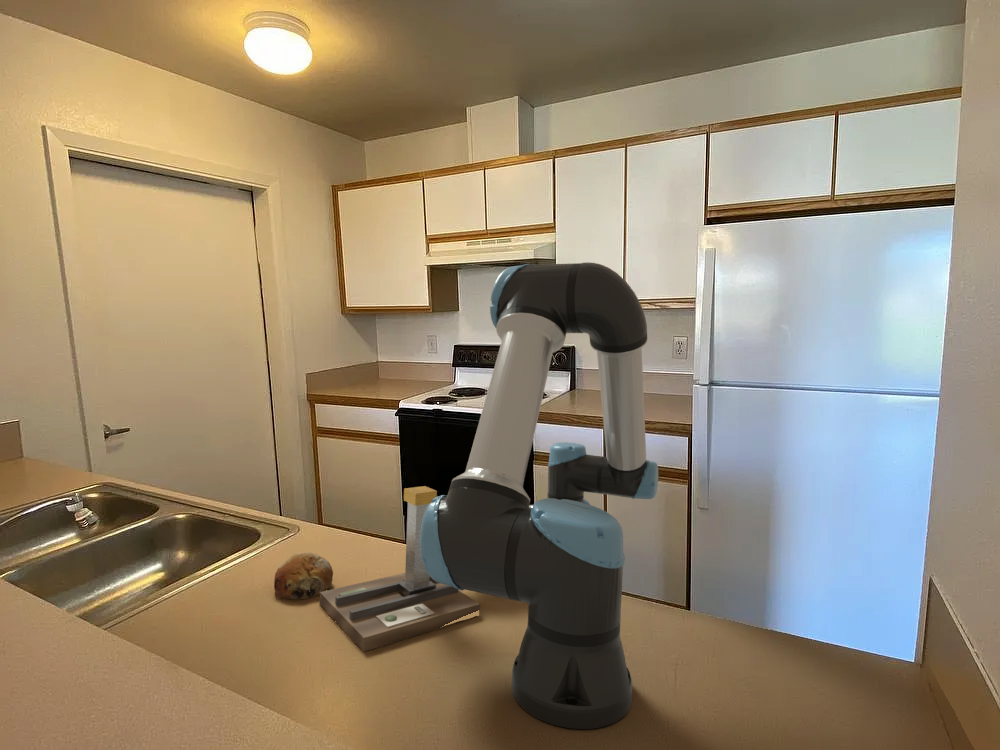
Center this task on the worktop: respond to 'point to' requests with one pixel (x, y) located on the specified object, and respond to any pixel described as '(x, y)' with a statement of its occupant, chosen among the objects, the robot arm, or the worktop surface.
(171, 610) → the worktop surface
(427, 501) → the lever
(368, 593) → the switch board
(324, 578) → the bread roll
